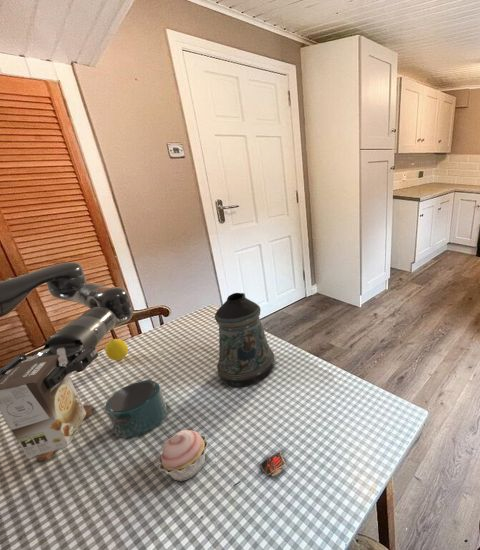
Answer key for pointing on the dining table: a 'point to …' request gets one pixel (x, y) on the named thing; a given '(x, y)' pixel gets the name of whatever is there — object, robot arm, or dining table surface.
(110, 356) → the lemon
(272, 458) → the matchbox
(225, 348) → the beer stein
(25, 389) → the coffee box
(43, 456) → the wooden spoon
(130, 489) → the dining table surface
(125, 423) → the enamel pot
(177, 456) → the cupcake
